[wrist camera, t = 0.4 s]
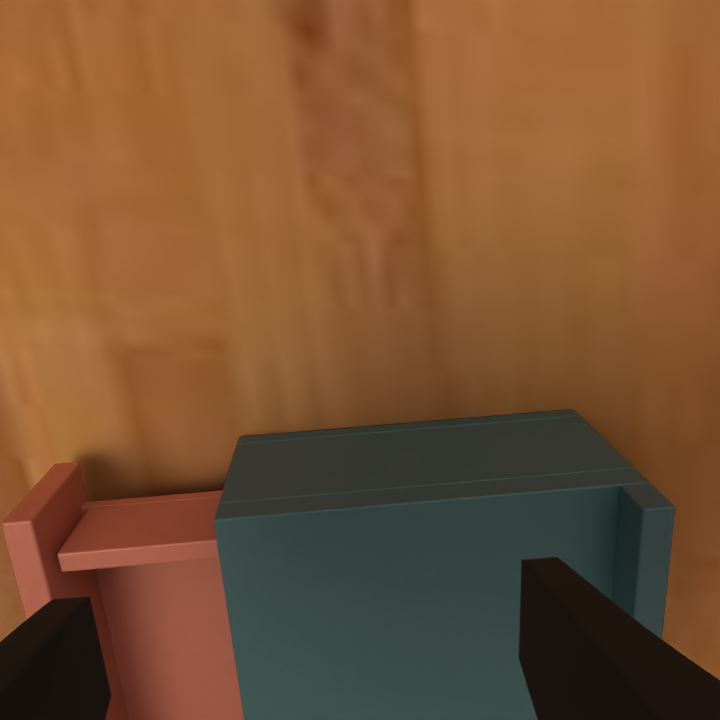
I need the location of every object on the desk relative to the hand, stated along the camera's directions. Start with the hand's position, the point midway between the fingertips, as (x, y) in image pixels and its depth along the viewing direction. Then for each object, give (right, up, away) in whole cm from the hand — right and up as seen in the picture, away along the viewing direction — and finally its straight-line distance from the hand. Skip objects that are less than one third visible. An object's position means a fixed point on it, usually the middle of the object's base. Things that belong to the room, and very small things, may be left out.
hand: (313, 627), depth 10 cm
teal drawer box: (+3, -5, +12) cm, 14 cm away
